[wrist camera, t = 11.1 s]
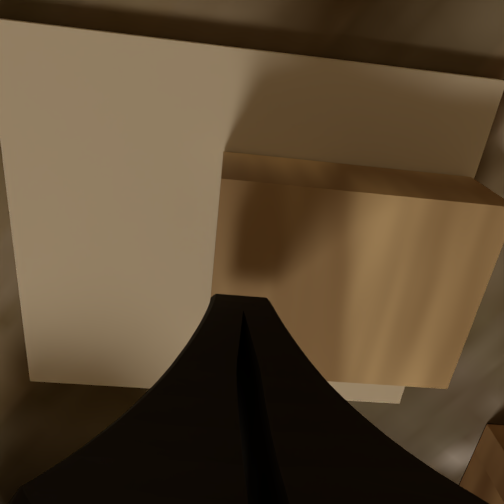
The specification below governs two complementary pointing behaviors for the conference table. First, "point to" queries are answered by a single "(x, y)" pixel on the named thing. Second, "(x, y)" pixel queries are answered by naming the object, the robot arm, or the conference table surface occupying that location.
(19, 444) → the conference table surface
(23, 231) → the mat
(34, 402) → the conference table surface
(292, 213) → the wooden block
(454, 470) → the conference table surface
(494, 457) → the figurine crate
